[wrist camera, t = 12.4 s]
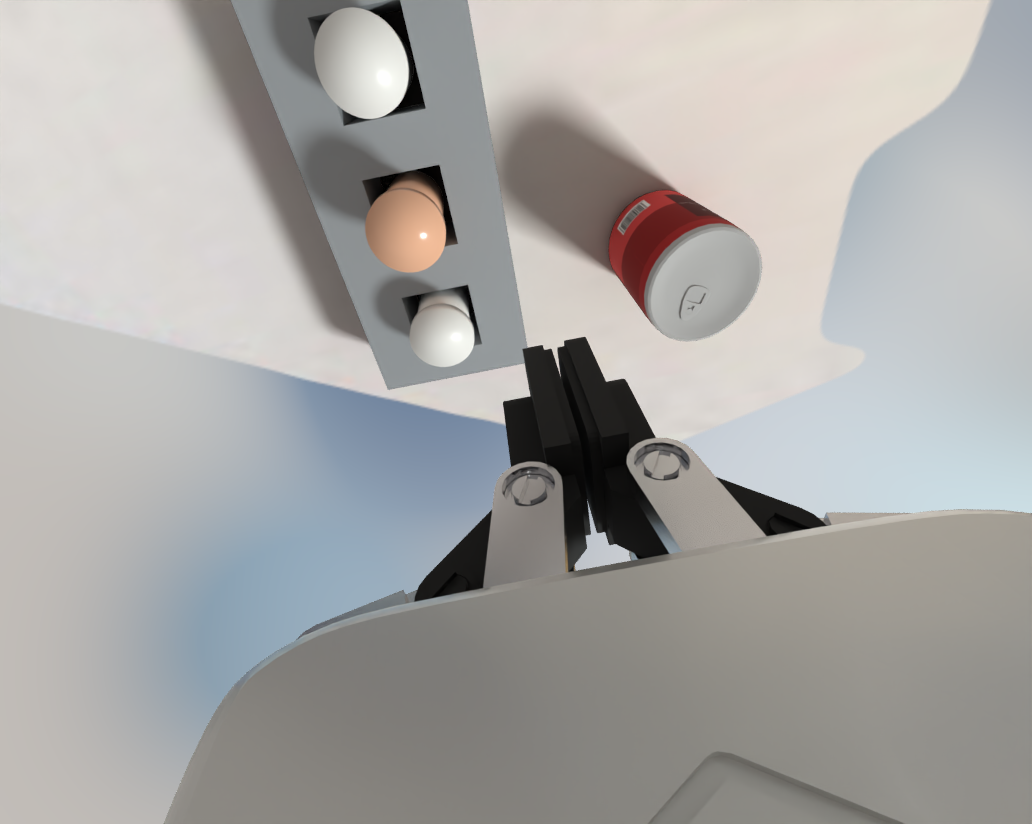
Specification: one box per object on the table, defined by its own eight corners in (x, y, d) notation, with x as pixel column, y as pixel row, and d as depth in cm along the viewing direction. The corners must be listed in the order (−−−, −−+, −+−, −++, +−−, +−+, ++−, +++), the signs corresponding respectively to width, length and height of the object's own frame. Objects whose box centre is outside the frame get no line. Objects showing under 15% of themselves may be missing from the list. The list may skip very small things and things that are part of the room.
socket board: (258, -17, 28) (217, -33, 24) (454, -59, 28) (452, -84, 23) (395, 354, 44) (388, 389, 39) (522, 329, 44) (530, 362, 39)
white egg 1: (333, 27, 29) (298, 17, 23) (405, 11, 29) (390, -2, 23) (360, 113, 32) (335, 126, 26) (426, 99, 32) (418, 109, 26)
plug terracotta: (373, 172, 33) (352, 200, 26) (438, 159, 33) (433, 183, 26) (395, 239, 35) (380, 279, 29) (455, 227, 35) (453, 264, 29)
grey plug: (410, 274, 39) (400, 316, 32) (465, 263, 39) (466, 303, 32) (426, 324, 42) (419, 372, 35) (477, 314, 42) (480, 360, 35)
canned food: (601, 285, 42) (638, 345, 33) (611, 188, 37) (659, 227, 28) (684, 282, 43) (743, 340, 34) (705, 186, 38) (780, 224, 29)
